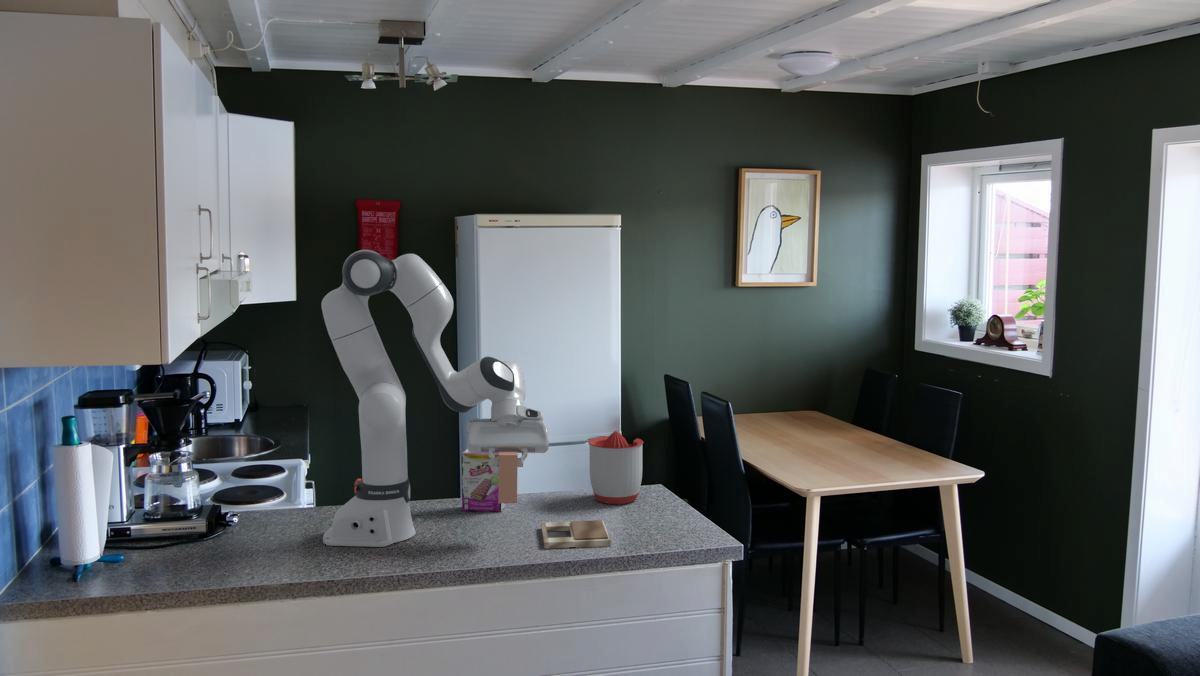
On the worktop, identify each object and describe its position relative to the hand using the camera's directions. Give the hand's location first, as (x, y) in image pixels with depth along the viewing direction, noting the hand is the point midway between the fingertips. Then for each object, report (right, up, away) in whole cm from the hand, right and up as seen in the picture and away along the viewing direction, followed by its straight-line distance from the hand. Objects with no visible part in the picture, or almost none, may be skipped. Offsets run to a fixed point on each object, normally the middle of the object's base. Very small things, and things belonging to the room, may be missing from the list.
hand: (508, 465), depth 228 cm
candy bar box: (-10, -16, +29) cm, 34 cm away
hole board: (+16, -18, +5) cm, 25 cm away
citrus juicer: (+28, -15, +39) cm, 50 cm away
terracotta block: (0, -9, +1) cm, 9 cm away
